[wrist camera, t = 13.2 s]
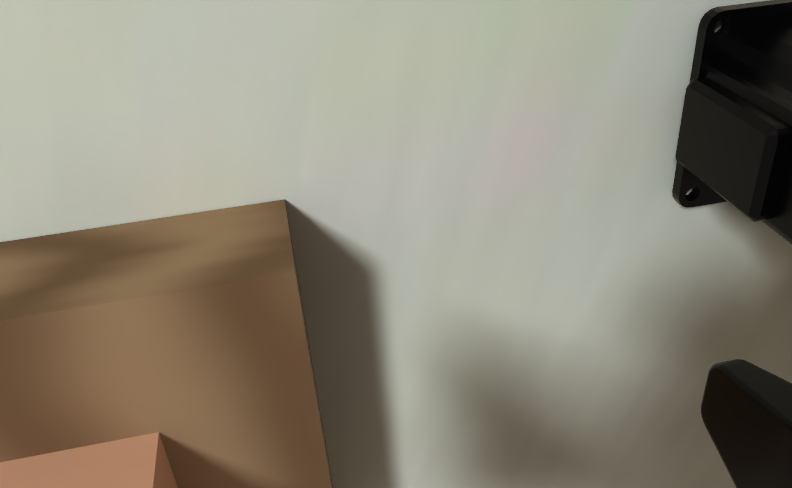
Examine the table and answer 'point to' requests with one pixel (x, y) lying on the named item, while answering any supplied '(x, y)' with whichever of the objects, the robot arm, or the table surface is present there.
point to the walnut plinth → (165, 347)
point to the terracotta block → (95, 466)
